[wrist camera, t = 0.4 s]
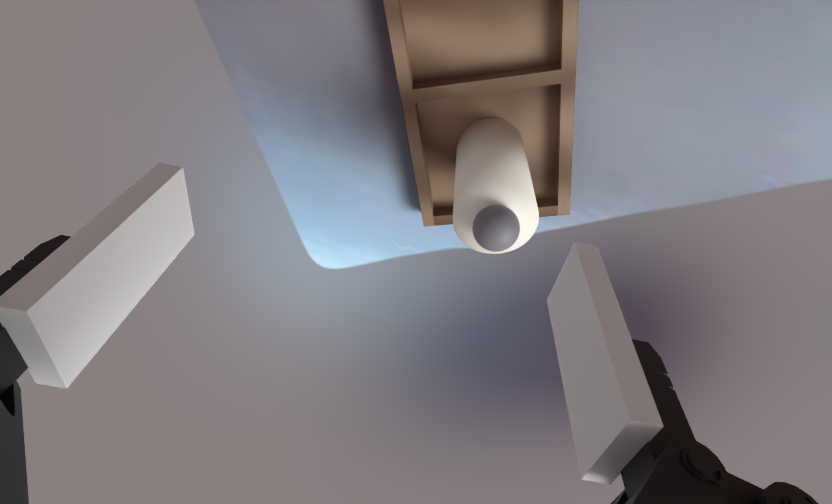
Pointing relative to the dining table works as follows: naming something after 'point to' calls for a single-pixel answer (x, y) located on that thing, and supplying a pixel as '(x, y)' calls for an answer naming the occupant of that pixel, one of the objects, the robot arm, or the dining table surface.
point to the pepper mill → (493, 188)
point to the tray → (486, 88)
